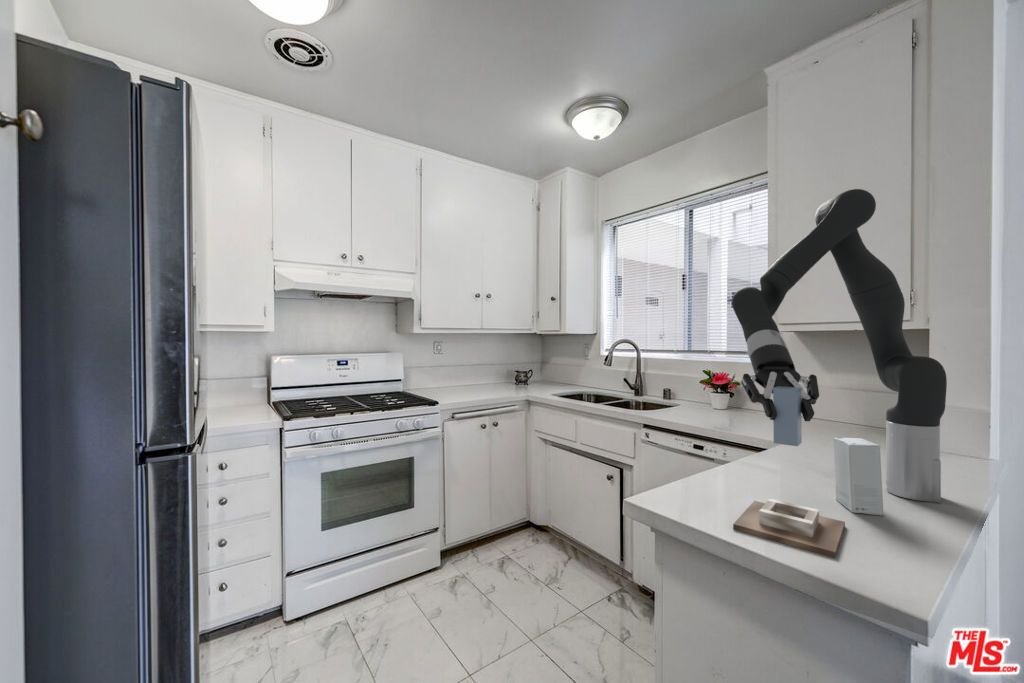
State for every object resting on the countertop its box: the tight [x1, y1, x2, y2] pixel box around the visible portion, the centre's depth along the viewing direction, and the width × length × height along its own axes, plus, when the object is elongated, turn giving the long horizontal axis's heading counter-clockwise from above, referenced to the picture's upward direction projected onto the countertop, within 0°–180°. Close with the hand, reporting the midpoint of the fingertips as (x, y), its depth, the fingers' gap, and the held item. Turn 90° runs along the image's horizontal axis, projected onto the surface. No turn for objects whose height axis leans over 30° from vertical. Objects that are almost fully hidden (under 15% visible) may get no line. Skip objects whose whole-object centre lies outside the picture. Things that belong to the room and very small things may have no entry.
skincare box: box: [833, 437, 885, 517], centre depth 92 cm, size 8×6×15 cm
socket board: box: [732, 498, 846, 558], centre depth 82 cm, size 16×16×4 cm
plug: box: [772, 386, 803, 447], centre depth 82 cm, size 4×4×11 cm
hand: (791, 418), depth 81 cm, fingers closed on plug, 5 cm apart
